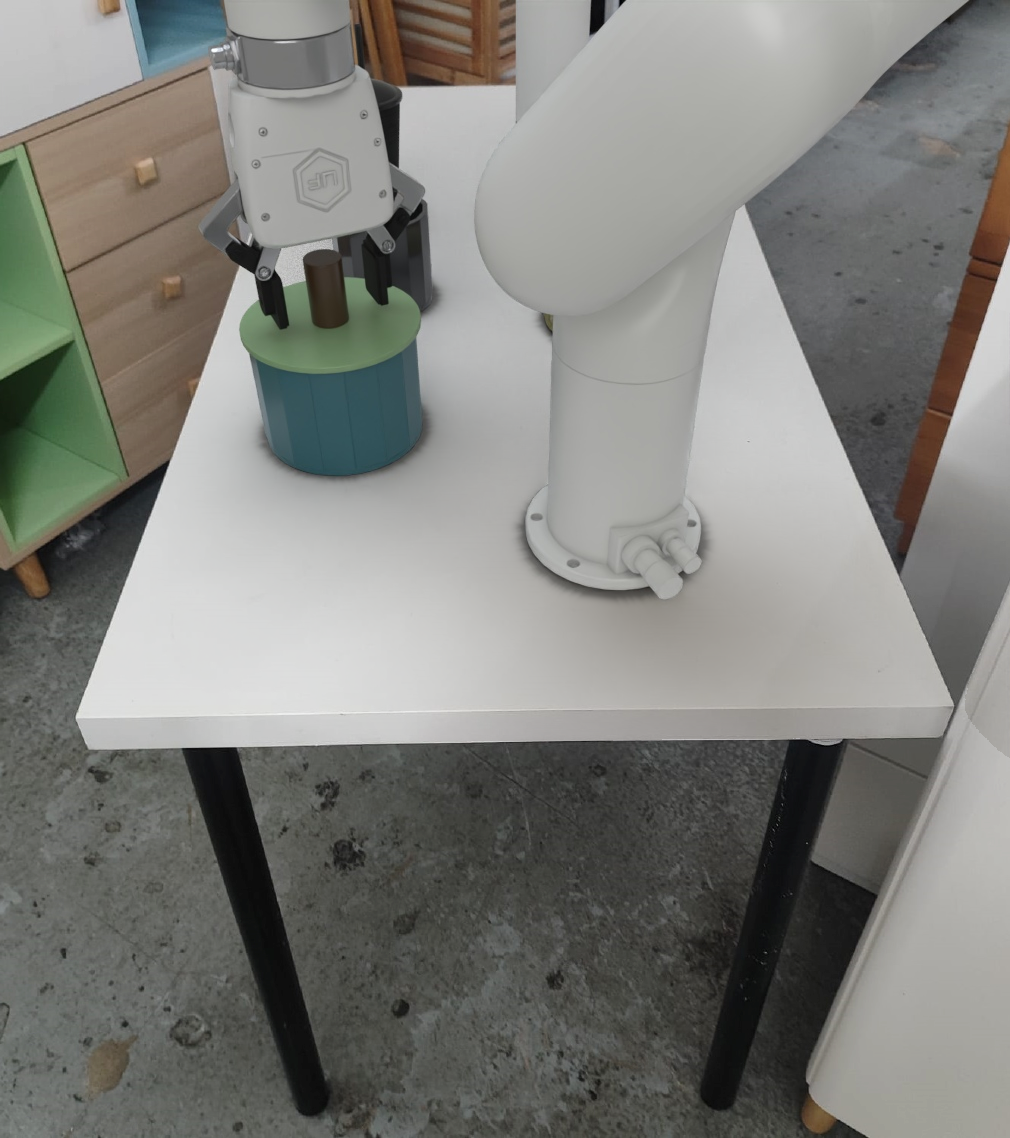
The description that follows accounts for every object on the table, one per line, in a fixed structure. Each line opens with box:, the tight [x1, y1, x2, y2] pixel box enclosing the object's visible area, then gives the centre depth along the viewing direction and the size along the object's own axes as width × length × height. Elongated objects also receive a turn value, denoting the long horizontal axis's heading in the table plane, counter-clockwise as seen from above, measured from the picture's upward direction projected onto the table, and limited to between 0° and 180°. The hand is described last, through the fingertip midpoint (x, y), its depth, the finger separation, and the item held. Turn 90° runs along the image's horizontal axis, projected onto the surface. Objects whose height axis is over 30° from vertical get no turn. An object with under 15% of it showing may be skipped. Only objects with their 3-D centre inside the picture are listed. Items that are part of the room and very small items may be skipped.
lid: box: [238, 248, 422, 374], centre depth 76 cm, size 14×14×6 cm
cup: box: [331, 189, 434, 313], centre depth 97 cm, size 9×9×9 cm
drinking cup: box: [353, 23, 403, 190], centre depth 105 cm, size 8×8×20 cm
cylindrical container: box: [515, 0, 592, 124], centre depth 104 cm, size 7×7×25 cm
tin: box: [248, 337, 423, 477], centre depth 81 cm, size 13×13×10 cm
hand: (328, 307), depth 77 cm, fingers open, 7 cm apart
